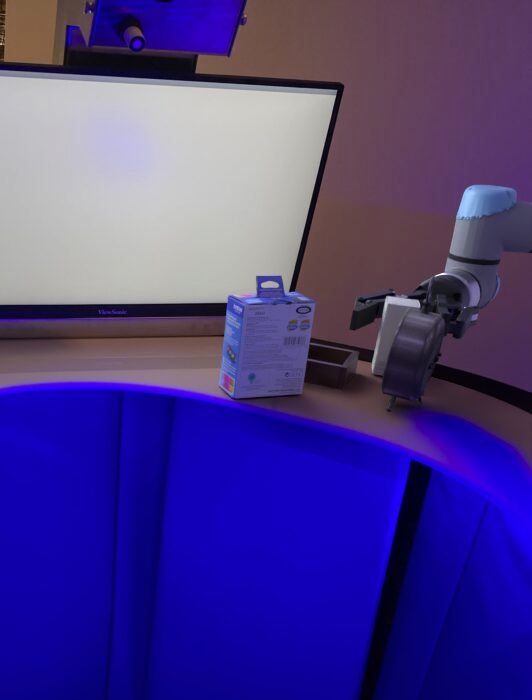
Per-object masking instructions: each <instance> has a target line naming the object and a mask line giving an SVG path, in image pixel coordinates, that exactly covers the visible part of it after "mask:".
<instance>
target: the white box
mask: <svg viewBox="0 0 532 700" xmlns="http://www.w3.org/2000/svg"><path fill="white" fill-rule="evenodd" d="M409 308H414V309H418V310H420V303H419V301H418V300H414V299H406V298H399V297H391V296H386V300H385V305H384V310H383V315H382V318H380V319H381V320H380V324H379V328H378V334H377V339H376V343H375V348H374V353H373V357H372V361H371V373H372V375H376V376H382V377H383V373H384V369H385V365H386V361H387V358H388V354H389V351H390V348H391V345H392V342H393V339H394V336H395V333H396V331H397V328H398V326H399V323H400V321H401V319H402V317H403V315H404V314H405V312H406V311H407V309H409Z"/></svg>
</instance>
